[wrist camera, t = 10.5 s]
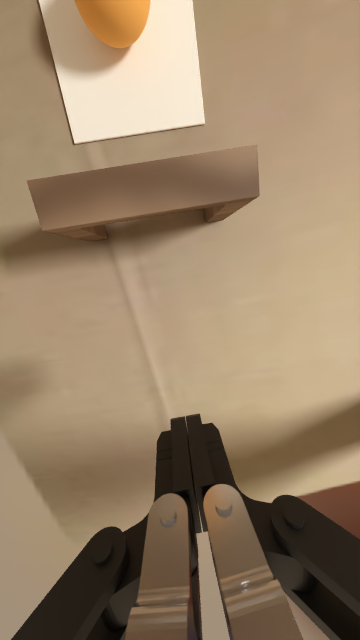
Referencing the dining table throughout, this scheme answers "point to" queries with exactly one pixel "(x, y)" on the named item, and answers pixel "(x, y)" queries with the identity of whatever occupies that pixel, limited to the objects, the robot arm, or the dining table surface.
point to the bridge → (146, 191)
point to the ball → (115, 19)
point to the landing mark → (127, 73)
